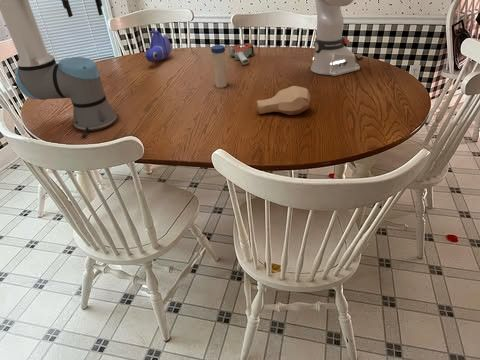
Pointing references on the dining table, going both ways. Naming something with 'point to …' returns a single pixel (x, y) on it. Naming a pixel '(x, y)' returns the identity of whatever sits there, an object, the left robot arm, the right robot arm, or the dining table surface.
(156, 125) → the dining table surface
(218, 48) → the lid
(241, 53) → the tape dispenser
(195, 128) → the dining table surface
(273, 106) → the squash
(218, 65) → the jar
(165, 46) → the toy
